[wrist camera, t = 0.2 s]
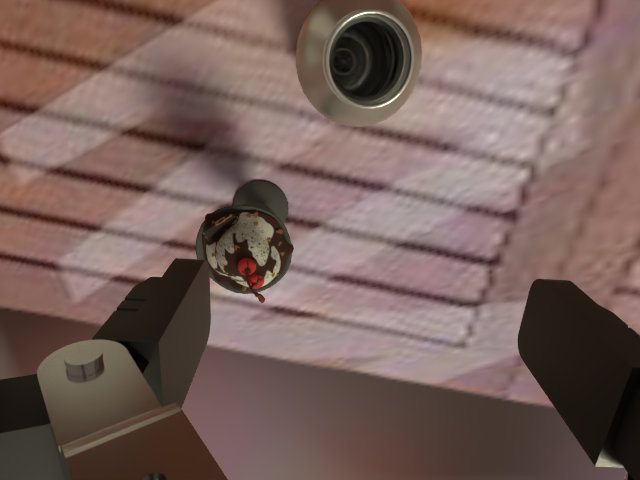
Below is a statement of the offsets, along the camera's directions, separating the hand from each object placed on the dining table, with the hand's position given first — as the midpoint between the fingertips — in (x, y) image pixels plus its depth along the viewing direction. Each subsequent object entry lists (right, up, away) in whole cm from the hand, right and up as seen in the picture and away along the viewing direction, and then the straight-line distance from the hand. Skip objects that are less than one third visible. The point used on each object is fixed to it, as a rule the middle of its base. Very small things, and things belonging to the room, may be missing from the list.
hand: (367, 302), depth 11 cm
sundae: (-6, +5, +30) cm, 31 cm away
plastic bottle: (+1, +16, +25) cm, 30 cm away
